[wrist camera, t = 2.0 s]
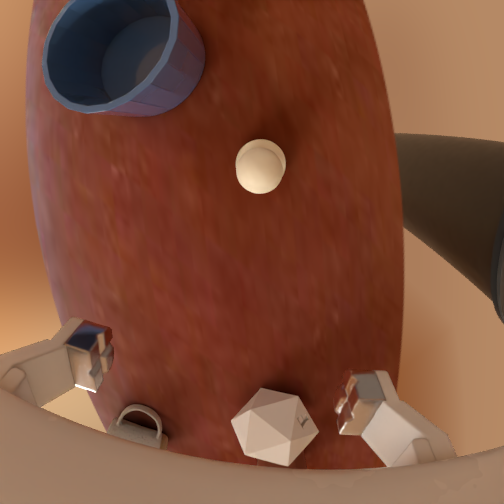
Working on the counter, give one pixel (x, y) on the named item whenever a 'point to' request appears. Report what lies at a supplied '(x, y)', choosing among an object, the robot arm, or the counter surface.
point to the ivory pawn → (260, 166)
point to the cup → (122, 56)
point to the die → (274, 427)
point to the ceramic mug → (139, 429)
